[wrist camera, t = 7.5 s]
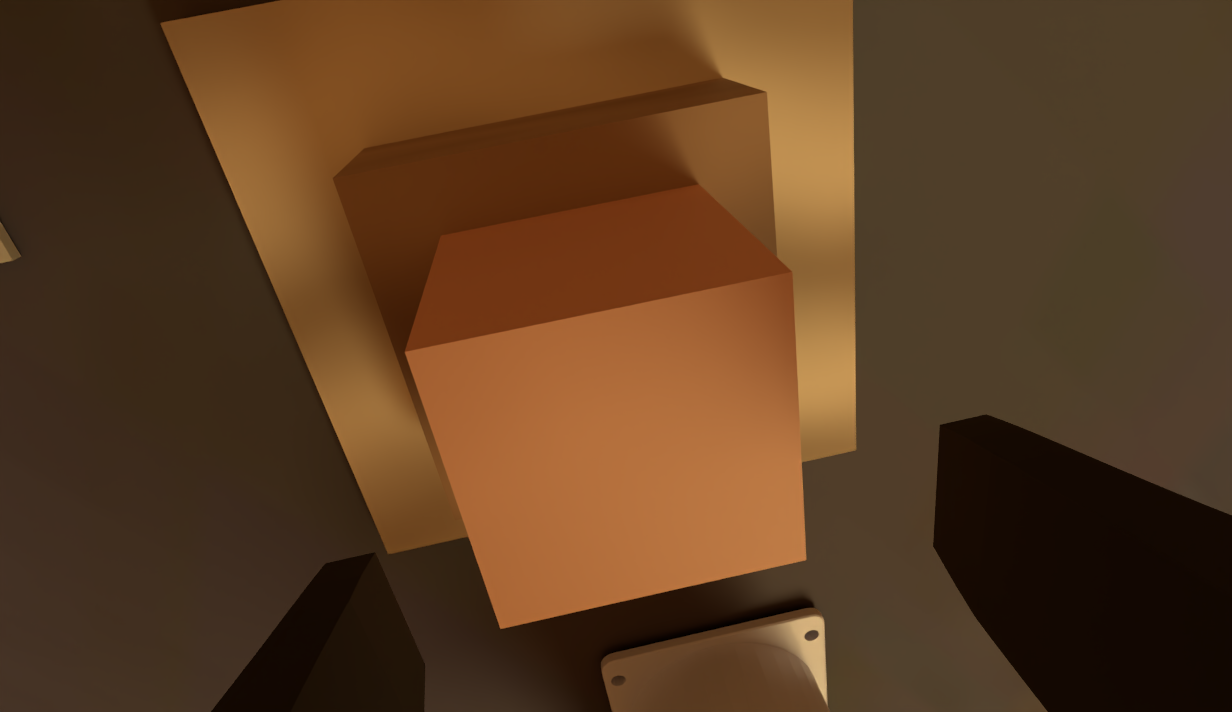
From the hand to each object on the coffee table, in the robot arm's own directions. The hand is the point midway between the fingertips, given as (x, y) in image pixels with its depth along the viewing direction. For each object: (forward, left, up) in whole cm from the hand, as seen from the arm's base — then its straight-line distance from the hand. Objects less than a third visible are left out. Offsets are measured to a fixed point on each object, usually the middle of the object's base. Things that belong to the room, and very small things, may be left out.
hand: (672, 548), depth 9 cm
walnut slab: (0, 0, -9) cm, 9 cm away
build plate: (0, 0, -10) cm, 10 cm away
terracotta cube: (0, 0, -6) cm, 6 cm away
